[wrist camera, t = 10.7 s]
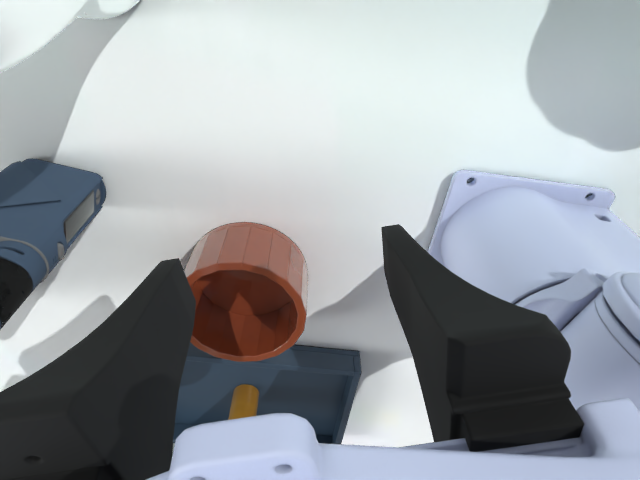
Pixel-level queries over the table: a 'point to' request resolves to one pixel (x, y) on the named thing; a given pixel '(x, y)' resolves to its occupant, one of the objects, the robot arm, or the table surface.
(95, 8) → the beer glass
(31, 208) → the vaping device
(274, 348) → the pen cup
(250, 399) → the marker
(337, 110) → the table surface
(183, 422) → the tray
